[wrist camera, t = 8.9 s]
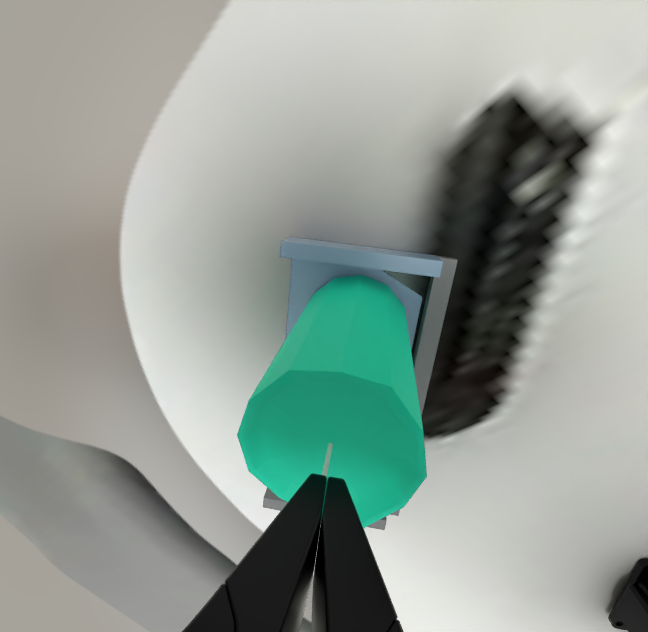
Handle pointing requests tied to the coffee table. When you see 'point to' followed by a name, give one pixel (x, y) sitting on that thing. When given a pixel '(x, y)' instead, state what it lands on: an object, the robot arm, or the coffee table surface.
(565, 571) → the coffee table surface
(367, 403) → the candle
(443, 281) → the grey framed panel
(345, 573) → the robot arm
